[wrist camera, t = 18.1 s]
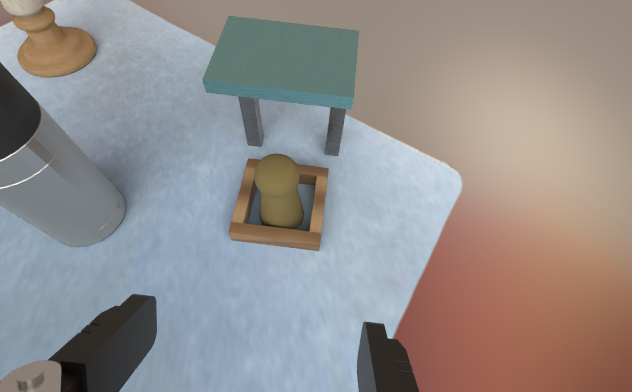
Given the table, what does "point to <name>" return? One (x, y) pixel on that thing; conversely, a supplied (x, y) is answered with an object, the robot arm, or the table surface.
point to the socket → (274, 234)
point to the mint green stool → (285, 70)
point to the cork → (279, 192)
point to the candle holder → (48, 40)
